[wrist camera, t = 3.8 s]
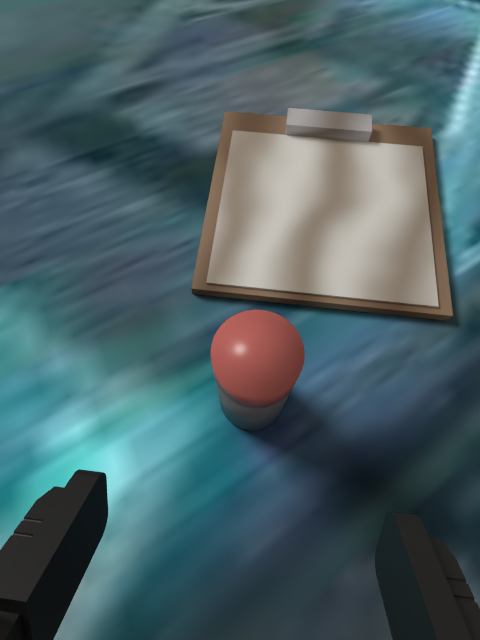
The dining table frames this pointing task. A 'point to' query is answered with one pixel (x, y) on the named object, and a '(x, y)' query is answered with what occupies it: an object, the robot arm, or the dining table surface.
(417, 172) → the clipboard
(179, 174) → the dining table surface
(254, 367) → the grey and red cylinder
